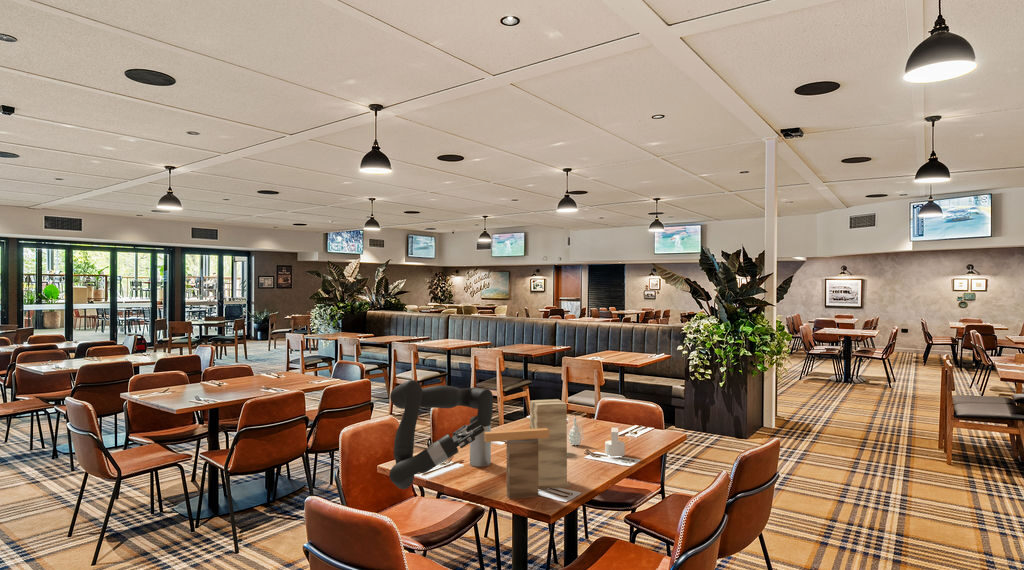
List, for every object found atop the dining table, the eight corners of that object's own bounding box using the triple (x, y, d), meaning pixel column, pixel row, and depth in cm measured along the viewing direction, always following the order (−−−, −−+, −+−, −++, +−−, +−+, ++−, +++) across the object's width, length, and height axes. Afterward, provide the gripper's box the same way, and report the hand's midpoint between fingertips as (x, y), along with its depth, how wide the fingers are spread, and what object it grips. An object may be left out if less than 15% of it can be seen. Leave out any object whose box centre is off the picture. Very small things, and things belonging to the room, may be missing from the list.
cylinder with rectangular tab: (624, 459, 253) (624, 432, 253) (604, 457, 254) (604, 431, 255) (624, 453, 261) (624, 428, 262) (605, 452, 263) (605, 427, 263)
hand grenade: (567, 446, 274) (567, 417, 274) (570, 443, 280) (570, 415, 280) (582, 447, 271) (582, 419, 272) (585, 444, 277) (585, 416, 277)
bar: (484, 440, 204) (484, 431, 204) (546, 436, 210) (546, 428, 210) (485, 442, 201) (485, 433, 201) (548, 437, 207) (548, 429, 207)
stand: (527, 480, 223) (526, 400, 224) (560, 477, 227) (559, 398, 228) (535, 490, 212) (535, 405, 212) (570, 486, 215) (570, 403, 216)
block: (506, 494, 207) (506, 438, 207) (534, 492, 209) (534, 436, 210) (509, 499, 202) (509, 441, 203) (538, 496, 205) (538, 439, 205)
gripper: (439, 446, 191) (479, 420, 195) (434, 436, 205) (472, 412, 209) (450, 464, 192) (490, 438, 196) (444, 453, 206) (482, 429, 210)
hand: (480, 424), depth 202 cm, fingers open, 8 cm apart
